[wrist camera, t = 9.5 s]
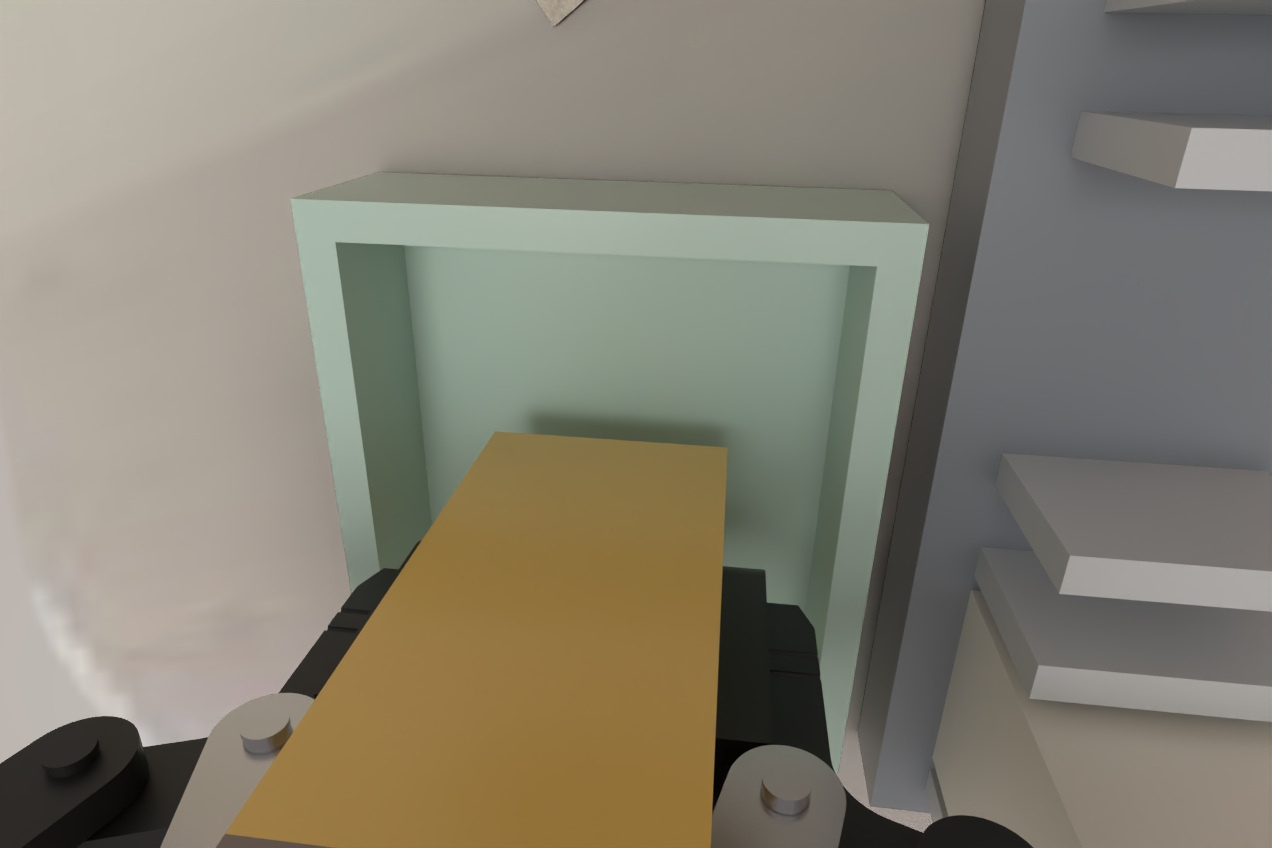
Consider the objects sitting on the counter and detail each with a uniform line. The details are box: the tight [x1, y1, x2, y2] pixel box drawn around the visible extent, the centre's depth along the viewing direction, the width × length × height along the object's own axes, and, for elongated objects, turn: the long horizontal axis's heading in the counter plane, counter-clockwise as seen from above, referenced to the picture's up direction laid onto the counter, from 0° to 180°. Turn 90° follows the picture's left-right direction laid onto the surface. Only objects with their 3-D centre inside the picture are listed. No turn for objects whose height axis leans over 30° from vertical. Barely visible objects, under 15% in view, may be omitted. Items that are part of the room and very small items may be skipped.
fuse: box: [216, 431, 728, 848], centre depth 11 cm, size 4×4×9 cm
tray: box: [290, 172, 929, 776], centre depth 15 cm, size 9×12×3 cm
